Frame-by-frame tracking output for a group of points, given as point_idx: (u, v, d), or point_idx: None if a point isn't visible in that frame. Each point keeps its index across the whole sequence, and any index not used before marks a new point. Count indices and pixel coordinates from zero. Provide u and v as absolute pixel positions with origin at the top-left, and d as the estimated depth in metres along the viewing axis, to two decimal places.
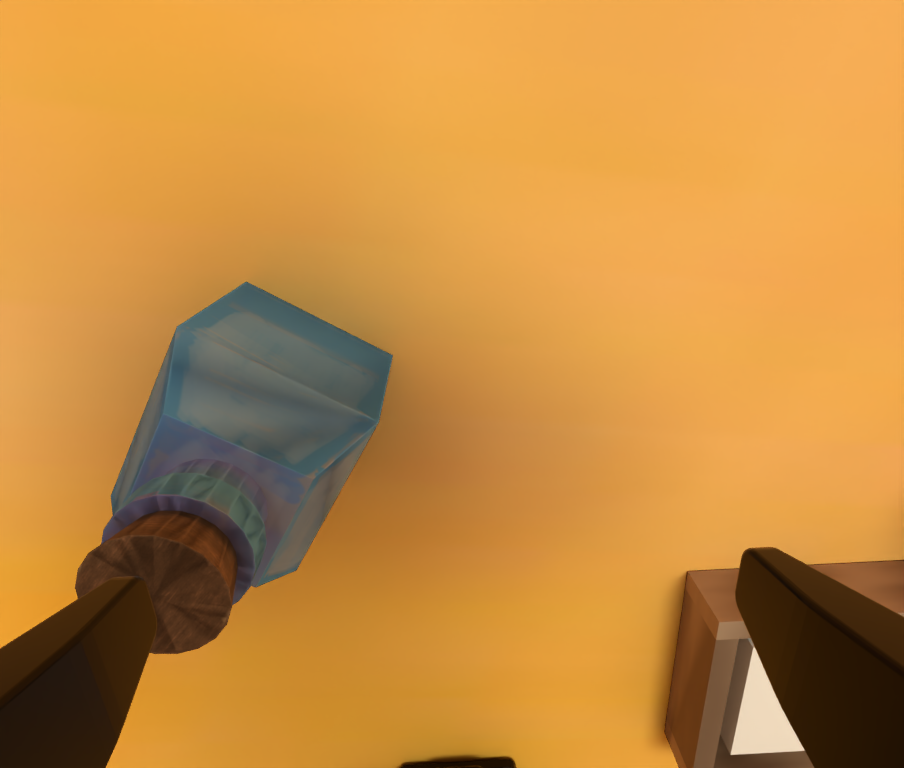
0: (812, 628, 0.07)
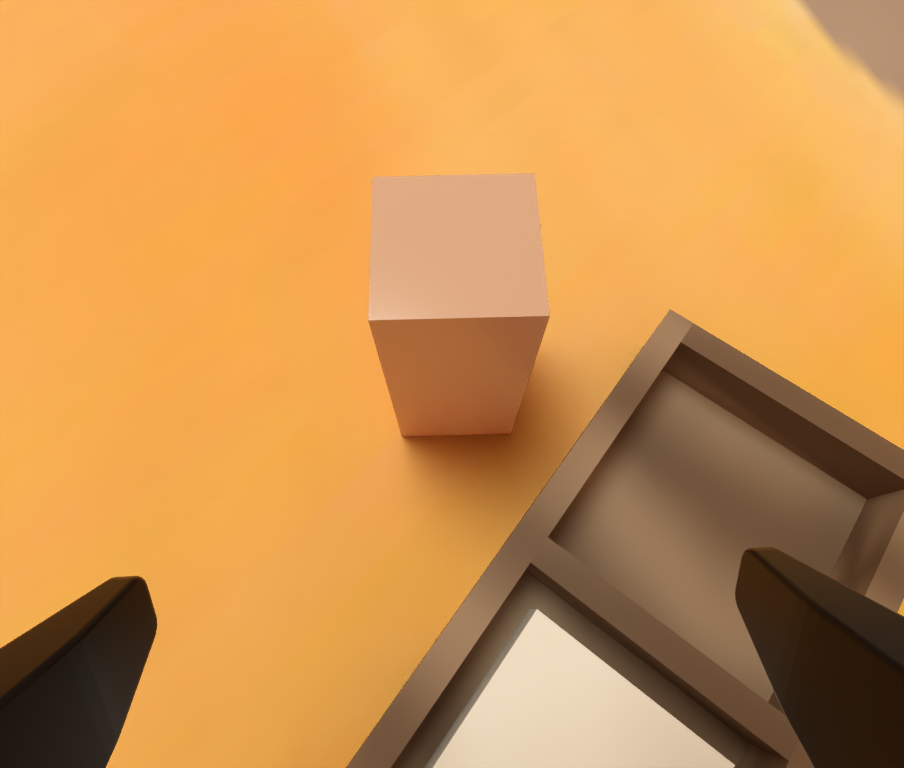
0: (812, 628, 0.07)
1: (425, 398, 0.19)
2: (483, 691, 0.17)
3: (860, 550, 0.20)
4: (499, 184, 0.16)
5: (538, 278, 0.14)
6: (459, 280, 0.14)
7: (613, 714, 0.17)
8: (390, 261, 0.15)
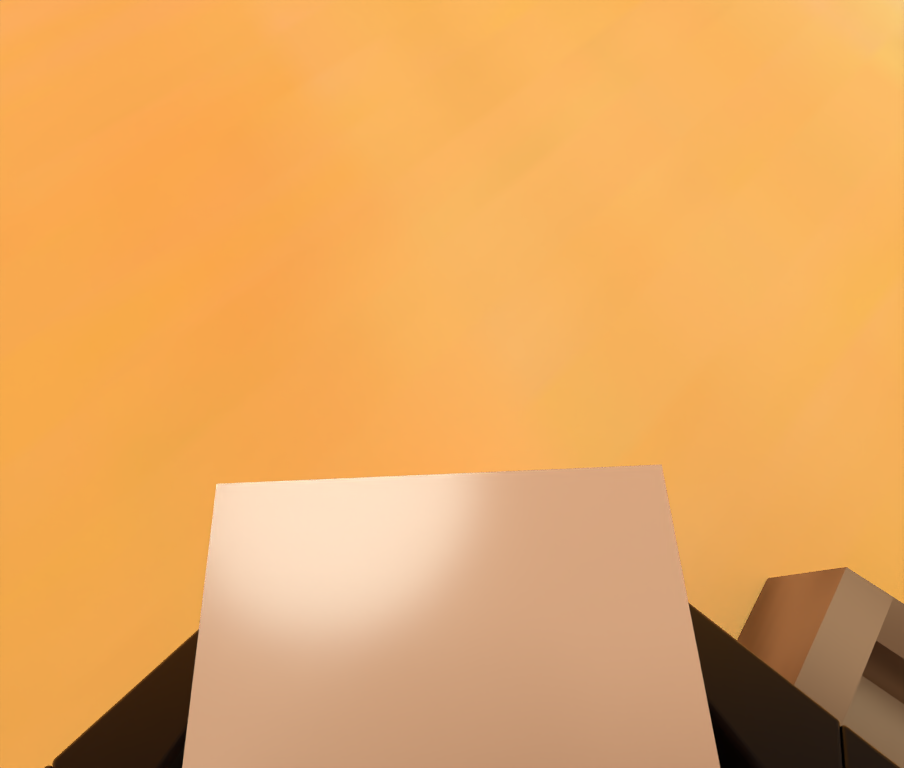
0: None
1: None
2: None
3: None
4: (565, 503, 0.06)
5: None
6: None
7: None
8: None
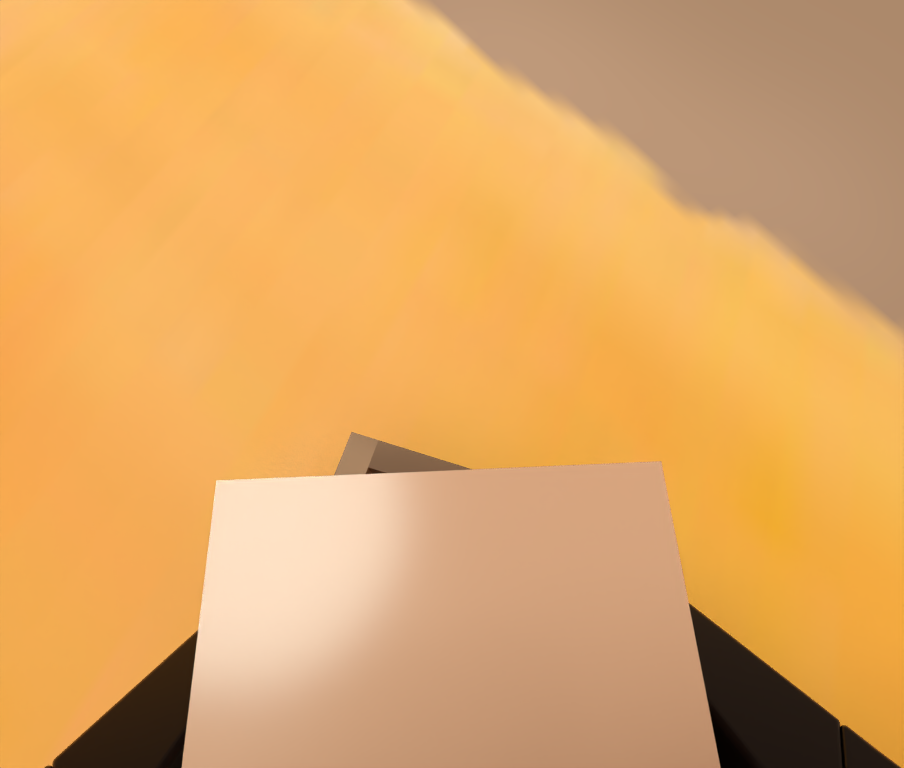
0: None
1: None
2: None
3: None
4: (565, 500, 0.06)
5: None
6: None
7: None
8: None
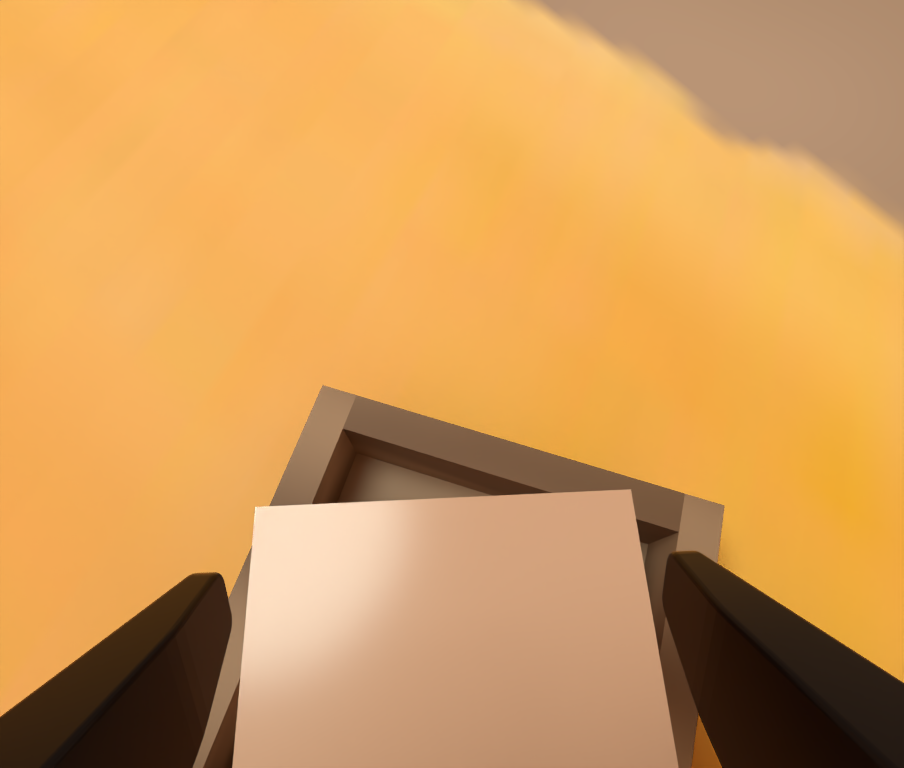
0: (720, 632, 0.07)
1: None
2: None
3: None
4: (550, 523, 0.07)
5: None
6: None
7: None
8: None
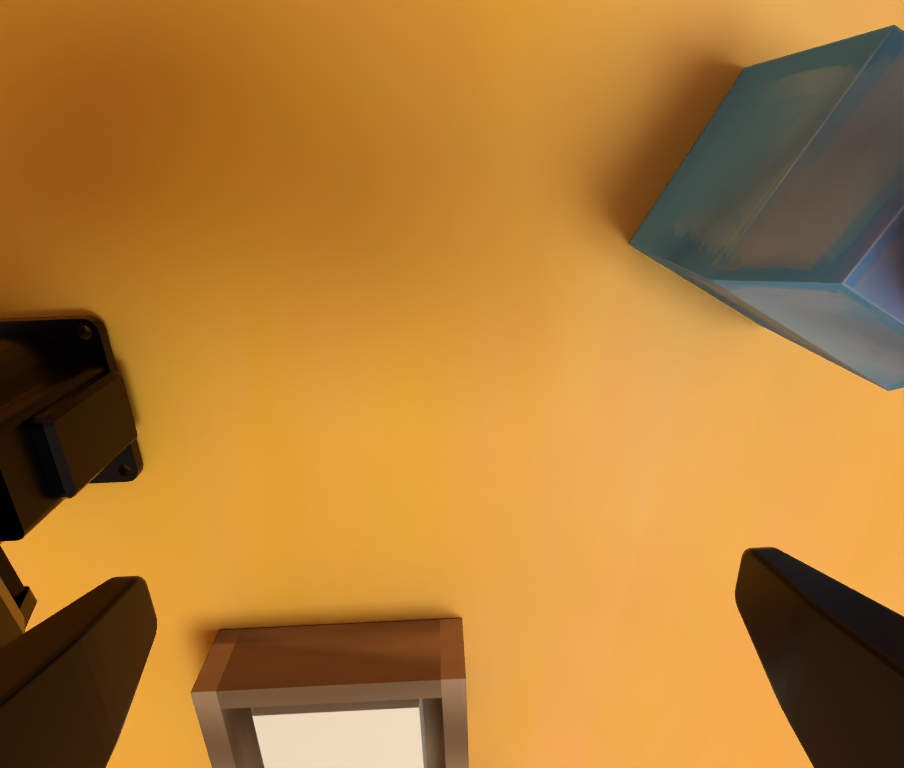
0: (812, 628, 0.07)
1: None
2: None
3: None
4: None
5: None
6: None
7: None
8: None
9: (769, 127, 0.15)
